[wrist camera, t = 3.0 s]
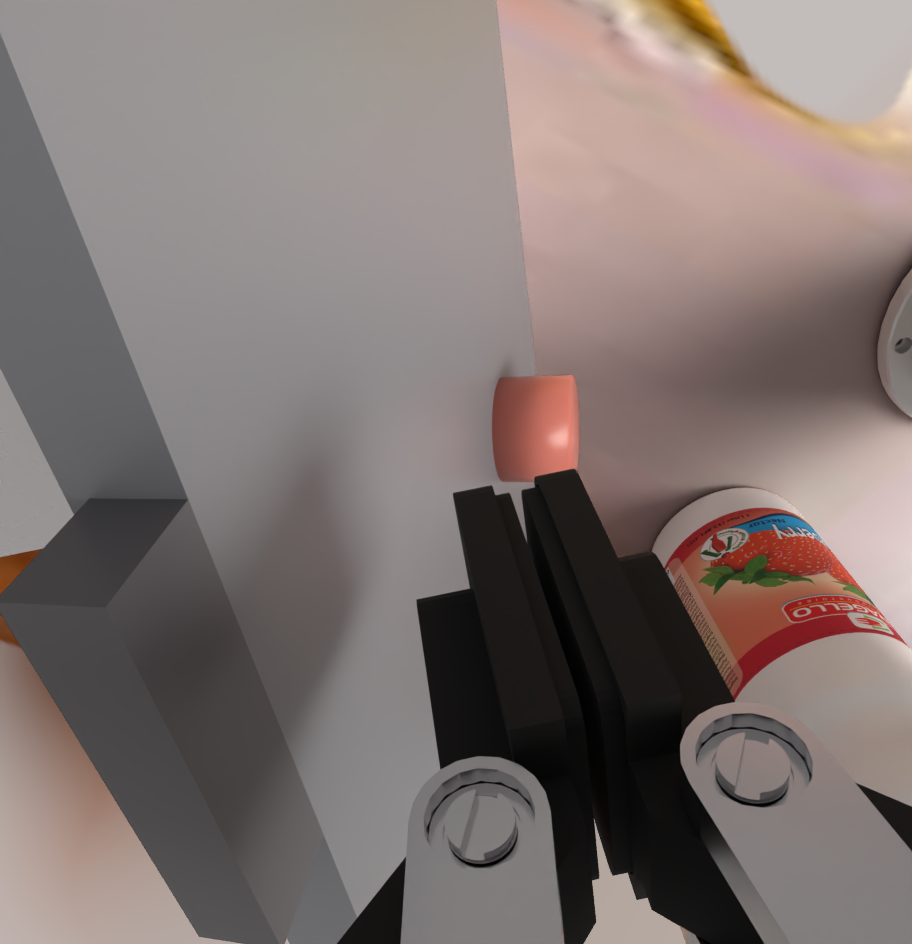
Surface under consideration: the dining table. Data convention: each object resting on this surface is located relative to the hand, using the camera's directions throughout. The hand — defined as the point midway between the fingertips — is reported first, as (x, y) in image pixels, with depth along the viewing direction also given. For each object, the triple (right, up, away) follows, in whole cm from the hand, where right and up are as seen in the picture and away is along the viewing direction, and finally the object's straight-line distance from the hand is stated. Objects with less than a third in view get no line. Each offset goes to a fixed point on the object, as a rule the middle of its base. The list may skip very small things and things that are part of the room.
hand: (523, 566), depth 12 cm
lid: (-3, +4, +6) cm, 8 cm away
